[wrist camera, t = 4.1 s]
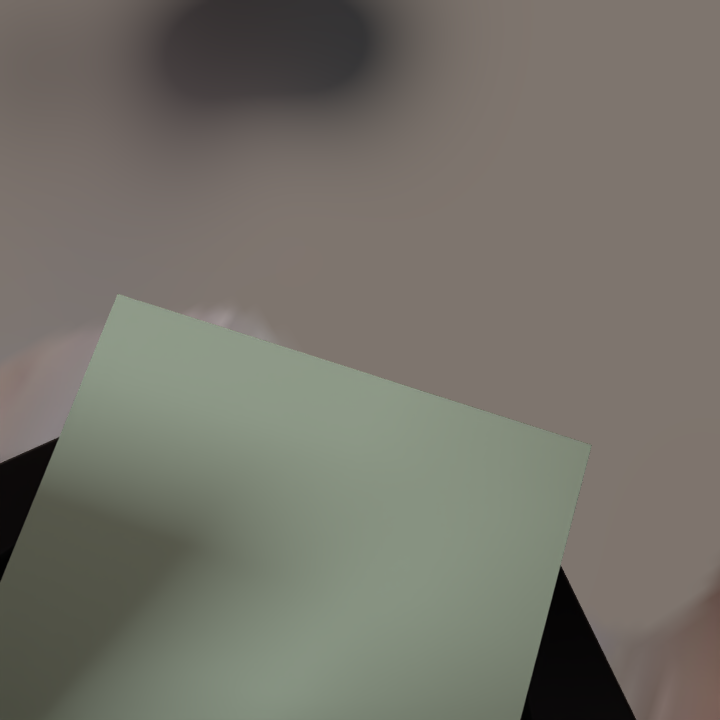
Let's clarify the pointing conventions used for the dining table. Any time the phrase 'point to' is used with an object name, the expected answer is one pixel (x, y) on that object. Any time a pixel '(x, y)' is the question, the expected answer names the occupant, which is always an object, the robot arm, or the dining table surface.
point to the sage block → (278, 541)
